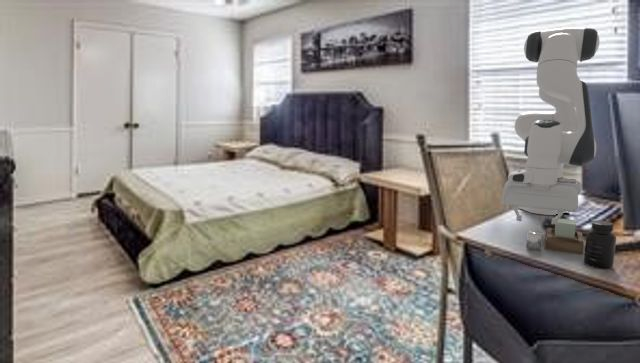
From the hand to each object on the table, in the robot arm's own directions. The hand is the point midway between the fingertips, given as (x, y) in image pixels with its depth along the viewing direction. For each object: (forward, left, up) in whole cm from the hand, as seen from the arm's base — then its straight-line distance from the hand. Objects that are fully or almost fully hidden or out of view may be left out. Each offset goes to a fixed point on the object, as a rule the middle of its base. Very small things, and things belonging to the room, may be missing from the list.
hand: (536, 222), depth 130 cm
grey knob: (-1, 0, -8) cm, 8 cm away
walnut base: (-7, +8, -8) cm, 13 cm away
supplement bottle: (+5, +16, -9) cm, 19 cm away
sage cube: (-7, +8, -5) cm, 12 cm away
